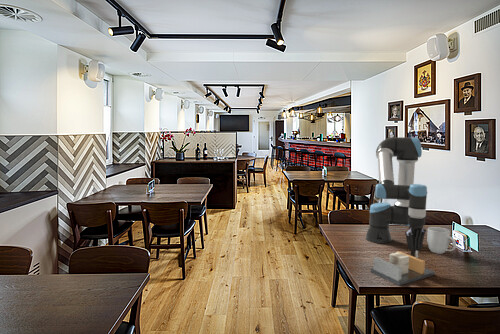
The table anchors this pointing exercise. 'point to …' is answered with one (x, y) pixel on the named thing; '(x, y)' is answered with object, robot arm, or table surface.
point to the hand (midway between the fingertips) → (413, 263)
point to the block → (400, 261)
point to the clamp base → (407, 276)
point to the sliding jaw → (415, 264)
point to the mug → (439, 239)
